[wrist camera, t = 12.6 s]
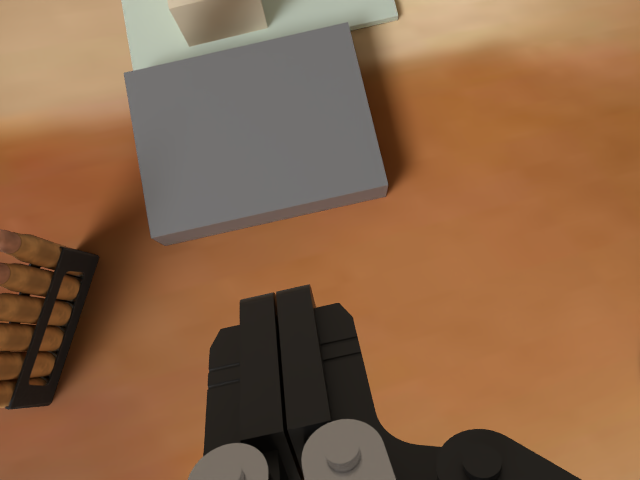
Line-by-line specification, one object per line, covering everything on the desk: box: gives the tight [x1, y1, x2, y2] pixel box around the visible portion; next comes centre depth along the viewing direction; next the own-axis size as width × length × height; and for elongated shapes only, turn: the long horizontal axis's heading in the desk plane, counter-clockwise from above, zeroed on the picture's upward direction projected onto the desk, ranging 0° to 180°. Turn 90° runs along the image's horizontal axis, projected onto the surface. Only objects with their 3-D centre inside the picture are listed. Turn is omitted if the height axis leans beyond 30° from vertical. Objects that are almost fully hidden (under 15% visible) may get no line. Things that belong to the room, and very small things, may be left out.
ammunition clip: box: [0, 229, 99, 409], centre depth 35 cm, size 11×2×12 cm, turn 165°
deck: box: [124, 22, 388, 246], centre depth 41 cm, size 16×12×3 cm
